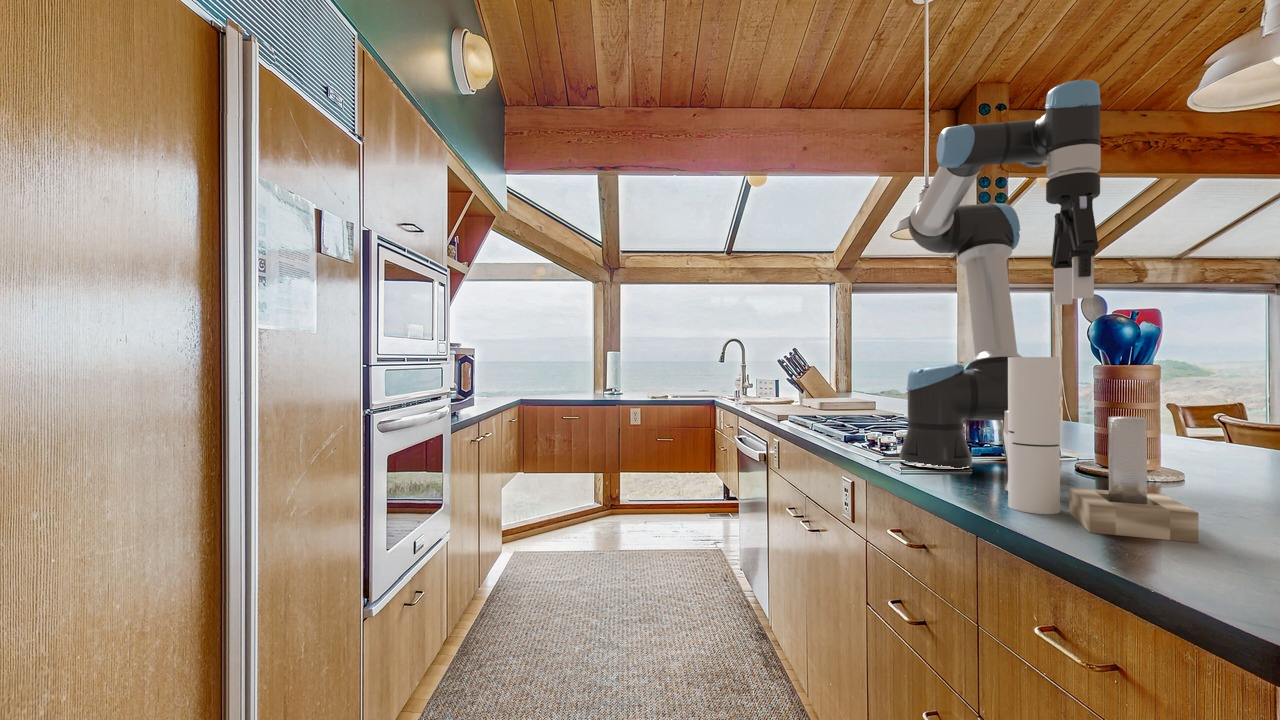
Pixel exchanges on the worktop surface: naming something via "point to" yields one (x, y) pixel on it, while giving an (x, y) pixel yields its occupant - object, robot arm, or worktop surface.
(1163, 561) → the worktop surface
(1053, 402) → the cylindrical container
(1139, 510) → the socket block
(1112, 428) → the peg
